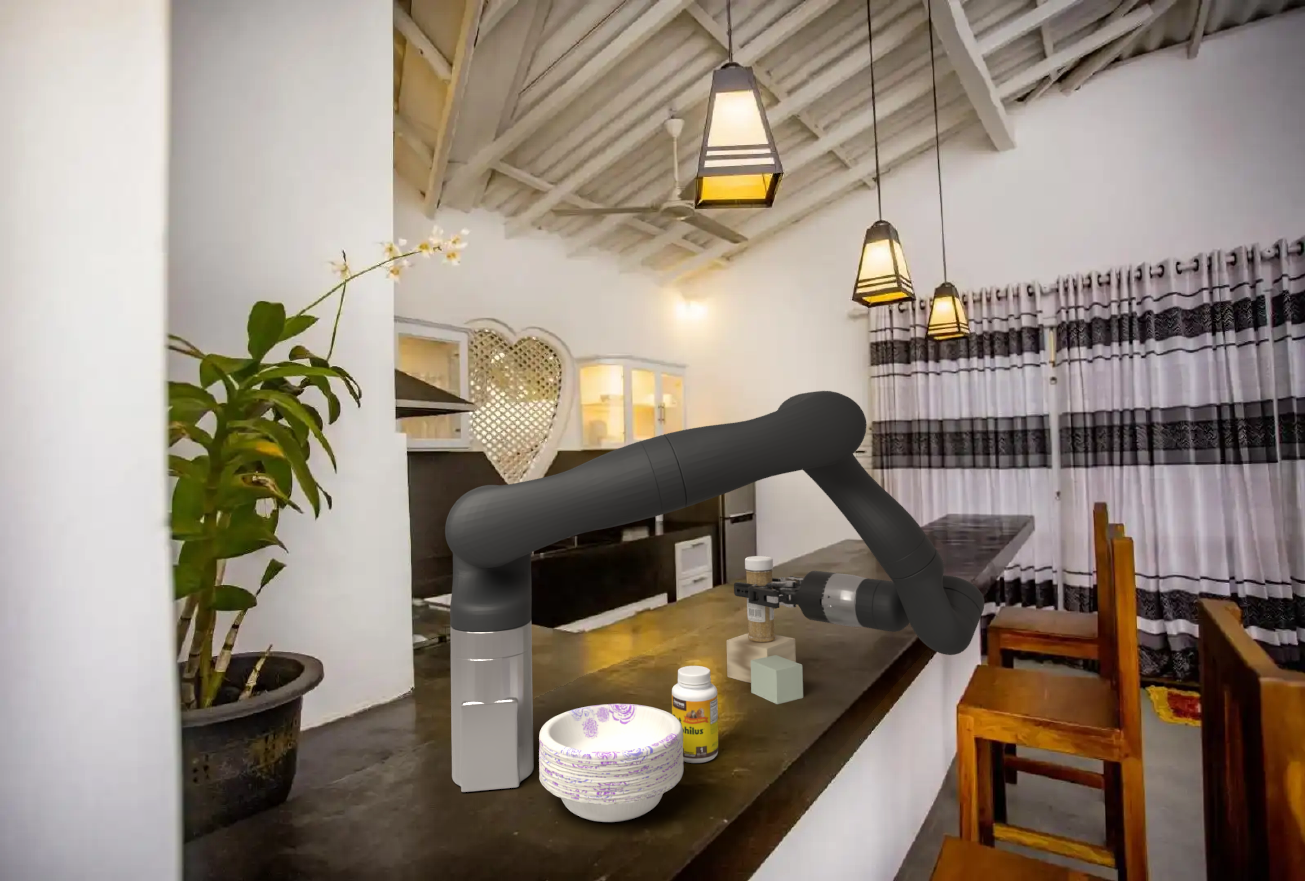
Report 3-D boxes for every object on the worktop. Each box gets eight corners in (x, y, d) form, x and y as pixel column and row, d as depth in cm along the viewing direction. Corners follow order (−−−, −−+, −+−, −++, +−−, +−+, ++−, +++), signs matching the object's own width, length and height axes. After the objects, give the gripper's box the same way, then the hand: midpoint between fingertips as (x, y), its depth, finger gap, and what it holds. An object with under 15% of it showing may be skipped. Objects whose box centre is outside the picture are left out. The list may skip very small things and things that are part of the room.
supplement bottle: (664, 759, 82) (662, 673, 82) (685, 742, 87) (683, 661, 87) (706, 769, 79) (704, 680, 79) (726, 750, 84) (724, 666, 84)
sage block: (802, 664, 102) (775, 655, 107) (776, 670, 99) (750, 660, 105) (803, 698, 102) (776, 687, 107) (777, 705, 99) (751, 693, 104)
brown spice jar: (781, 639, 111) (778, 557, 112) (760, 644, 109) (757, 560, 109) (762, 634, 115) (759, 554, 116) (741, 638, 113) (739, 557, 113)
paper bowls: (633, 756, 83) (632, 690, 83) (713, 808, 70) (712, 730, 70) (516, 793, 74) (515, 719, 74) (583, 859, 62) (581, 770, 62)
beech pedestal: (796, 675, 112) (795, 638, 112) (768, 687, 106) (767, 648, 107) (756, 665, 118) (755, 630, 118) (727, 676, 112) (726, 640, 112)
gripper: (860, 567, 108) (771, 558, 119) (812, 580, 97) (719, 568, 109) (861, 615, 108) (772, 601, 119) (813, 633, 97) (720, 616, 109)
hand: (747, 585), depth 114 cm, fingers open, 6 cm apart
